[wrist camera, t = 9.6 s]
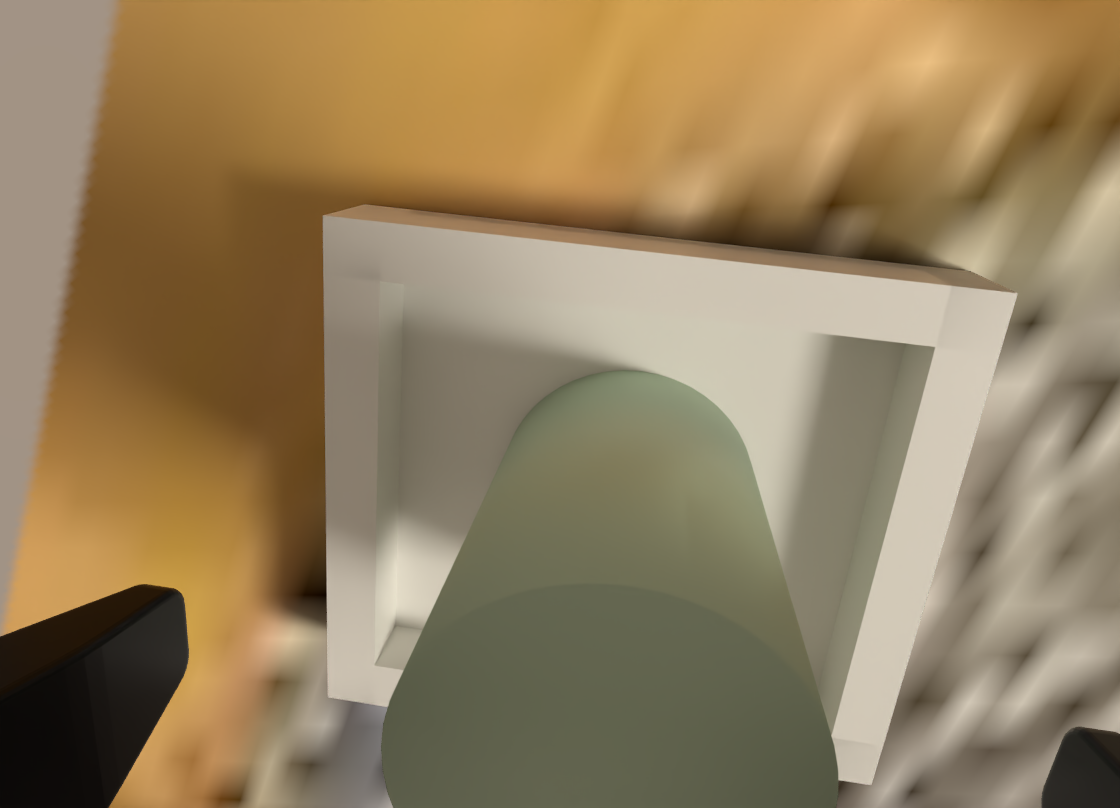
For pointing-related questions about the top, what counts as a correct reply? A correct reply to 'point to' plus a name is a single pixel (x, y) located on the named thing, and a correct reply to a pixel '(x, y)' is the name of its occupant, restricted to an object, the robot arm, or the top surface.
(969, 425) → the tray
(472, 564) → the pale green rounded cylinder
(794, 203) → the top surface
